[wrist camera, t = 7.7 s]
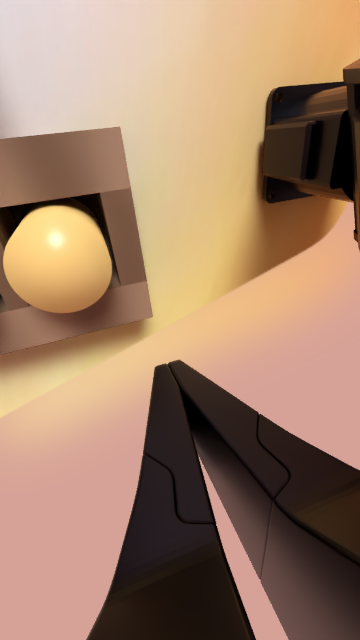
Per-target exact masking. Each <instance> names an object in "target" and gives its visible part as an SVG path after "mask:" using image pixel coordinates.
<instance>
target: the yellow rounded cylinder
mask: <svg viewBox="0 0 360 640" xmlns="http://www.w3.org/2000/svg"><path fill="white" fill-rule="evenodd" d="M3 267H4V271H5V275H6V278H7V280H8V282H9V284H10V286H11V287H12V288H13V290H14V291H15V292H16V293H17V294H18V295H19V296H20V297H21V298H22V299H23V300H24V301H26V302H27V303H29V304H30V305H32V306H34V307H36V308H39V309H41V310H44V311H48V312H53V313H71V312H76V311H80V310H83V309H85V308H87V307H89V306H91V305H92V304H94V303H95V302H97V301H98V300H99V299H100V298H101V297H102V295H103V294H104V293H105V291H106V290H107V288H108V286H109V283H110V280H111V275H112V264H111V258H110V255H109V252H108V249H107V246H106V243H105V240H104V237H103V235H102V232H101V229H100V226H99V223H98V221H97V219H96V217H95V216H94V214H93V213H92V212H91V211H90V210H89V209H88V208H87V207H86V206H85V205H84V204H82V203H80V202H79V201H77V200H74V199H72V198H69V197H67V198H60V199H53V200H46V201H40V202H37V203H36V204H34V205H33V206H32V207H31V208H30V210H29V211H28V213H27V214H26V216H25V217H24V218H23V220H22V221H21V223H20V224H19V226H18V227H17V229H16V230H15V232H14V233H13V235H12V236H11V238H10V239H9V241H8V243H7V245H6V247H5V251H4V256H3Z"/></svg>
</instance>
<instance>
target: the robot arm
mask: <svg viewBox="0 0 360 640" xmlns="http://www.w3.org/2000/svg"><path fill="white" fill-rule="evenodd" d="M343 79H344V82H332V83H320V84H309V85H297V86H285V87H278V88H275V89H273V90H272V91H271V92H270V94H269V98H268V112H267V128H266V130H265V141H264V159H263V174H264V183H263V199H264V201H265V202H268V203H275V202H281V201H286V200H292V199H298V198H303V197H309V196H314V195H318V196H323V197H328V198H333V199H338V200H343V201H348V202H353V203H354V215H355V230H354V239H355V240H356V241H357V242H358V247H359V250H360V59H359V60H357V61H355V62H354V63H352V64H350V65H348V66H347V67H345V68H343ZM277 94H278V95H279V101H278V102H276V95H277ZM271 192H272V196H271V198H269V194H270V193H271ZM198 455H199V457H200V459H201V461H202V463H203V465H204V467H205V469H206V471H207V473H208V475H209V477H210V479H211V481H212V483H213V485H214V487H215V489H216V491H217V494H218V496H219V497H220V500H221V502H222V504H223V506H224V508H225V510H226V512H227V514H228V516H229V518H230V520H231V522H232V524H233V526H234V528H235V530H236V532H237V534H238V537H239V539H240V541H241V543H242V545H243V547H244V549H245V551H246V553H247V555H248V557H249V559H250V561H251V563H252V565H253V567H254V569H255V571H256V573H257V575H258V577H259V579H260V580H261V584H262V586H263V588H264V590H265V592H266V594H267V596H268V598H269V600H270V602H271V604H272V606H273V608H274V610H275V612H276V614H277V616H278V619H279V621H280V623H281V625H282V627H283V629H284V631H285V633H286V635H287V637H288V639H289V640H360V470H358V469H356V468H354V467H352V466H350V465H348V464H346V463H344V462H342V461H340V460H339V459H337V458H335V457H333V456H331V455H329V454H327V453H326V452H324V451H322V450H320V449H318V448H316V447H315V446H313V445H311V444H309V443H307V442H305V441H304V440H302V439H300V438H298V437H296V436H295V435H293V434H291V433H289V432H288V431H286V430H284V429H283V428H281V427H280V426H278V425H277V424H275V423H273V422H272V421H270V420H269V419H267V418H266V417H264V416H263V415H261V414H259V413H258V412H257V411H255V410H254V409H252V408H251V407H249V406H248V405H246V404H245V403H243V402H242V401H240V400H239V399H237V398H236V397H235V396H233V395H232V394H230V393H229V392H227V391H226V390H224V389H223V388H221V387H219V386H218V385H217V384H215V383H214V382H212V381H211V380H209V379H208V378H206V377H205V376H203V375H202V374H200V373H199V372H197V371H196V370H194V369H193V368H191V367H190V366H188V365H187V364H185V363H184V362H182V361H181V360H176V361H172V362H169V363H168V364H162V365H159V366H156V367H155V370H154V377H153V384H152V392H151V399H150V406H149V414H148V421H147V428H146V435H145V443H144V450H143V457H142V463H141V470H140V476H139V481H138V488H137V491H136V496H135V500H134V504H133V508H132V512H131V516H130V519H129V523H128V527H127V530H126V534H125V538H124V542H123V545H122V549H121V553H120V556H119V560H118V564H117V567H116V570H115V574H114V577H113V580H112V584H111V586H110V590H109V592H108V595H107V597H106V600H105V602H104V605H103V607H102V609H101V611H100V613H99V615H98V617H97V619H96V621H95V623H94V625H93V628H92V629H91V632H90V633H89V636H88V638H87V639H86V640H256V638H255V636H254V633H253V630H252V628H251V625H250V622H249V619H248V616H247V614H246V611H245V608H244V606H243V603H242V600H241V597H240V594H239V592H238V589H237V586H236V583H235V581H234V578H233V575H232V572H231V570H230V567H229V564H228V561H227V558H226V555H225V552H224V549H223V546H222V543H221V539H220V536H219V532H218V528H217V526H216V521H215V517H214V514H213V510H212V506H211V502H210V498H209V495H208V491H207V487H206V484H205V480H204V476H203V472H202V469H201V465H200V461H199V457H198Z"/></svg>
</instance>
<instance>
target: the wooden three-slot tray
mask: <svg viewBox="0 0 360 640" xmlns="http://www.w3.org/2000/svg"><path fill="white" fill-rule="evenodd" d="M94 193H97V196H98V200H99V205H100V209H101V213H102V217H103V222H104V226H105V230H106V235H107V239H108V243H109V247H110V252H111V256H112V260H113V263H112V275H111V280H110V283H109V286H108V288H107V290H106V291H105V293H104V294H103V295H102V297H101V298H100V299H99V300H98V301H97V302H95V303H94V304H92V305H91V306H89V307H87V308H85V309H83V310H80V311H76V312H71V313H53V312H48V311H44V310H41V309H39V308H36V307H34V306H32V305H30V304H29V303H27V302H26V301H24V300H23V299H22V298H21V297H20V296H19V295H18V294H17V293H16V292H15V291H14V290H13V288H12V287H11V286H10V284H9V282H8V280H7V278H6V275H5V271H4V267H3V256H4V251H5V247H6V245H7V243H8V241H9V239H10V238H11V236H12V235H13V233H14V232H15V230H16V229H17V228H16V226H15V223H14V221H13V218H12V216H11V213H10V211H9V208H8V206H13V205H20V204H26V203H33V202H40V201H46V200H53V199H60V198H67V197H73V196H80V195H87V194H94ZM151 317H153V314H152V308H151V303H150V297H149V291H148V285H147V280H146V274H145V268H144V262H143V256H142V251H141V245H140V239H139V233H138V227H137V222H136V216H135V210H134V204H133V199H132V193H131V187H130V181H129V175H128V170H127V164H126V158H125V152H124V146H123V141H122V135H121V129H120V127H113V128H104V129H94V130H84V131H74V132H65V133H55V134H45V135H36V136H26V137H16V138H6V139H0V355H1V354H5V353H9V352H13V351H17V350H21V349H25V348H29V347H33V346H38V345H42V344H46V343H50V342H54V341H58V340H62V339H66V338H70V337H74V336H78V335H82V334H86V333H90V332H94V331H98V330H102V329H106V328H110V327H114V326H118V325H122V324H126V323H130V322H134V321H138V320H142V319H146V318H151Z"/></svg>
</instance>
